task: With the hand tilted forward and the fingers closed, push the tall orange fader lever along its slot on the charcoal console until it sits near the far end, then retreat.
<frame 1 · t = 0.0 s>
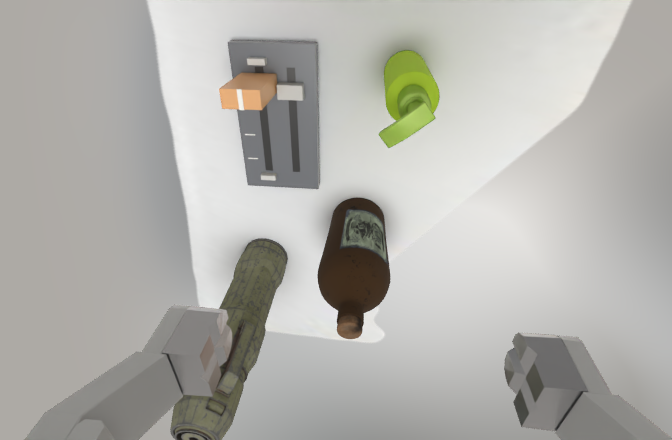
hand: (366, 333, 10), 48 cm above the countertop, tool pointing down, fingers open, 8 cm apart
thermos: (266, 254, 73), on the countertop
console: (280, 118, 57), on the countertop
soap dispenser: (401, 75, 52), on the countertop
olive oil: (358, 218, 66), on the countertop
fader lever: (250, 90, 48), point 7 cm above the countertop, slide at 0.0 cm
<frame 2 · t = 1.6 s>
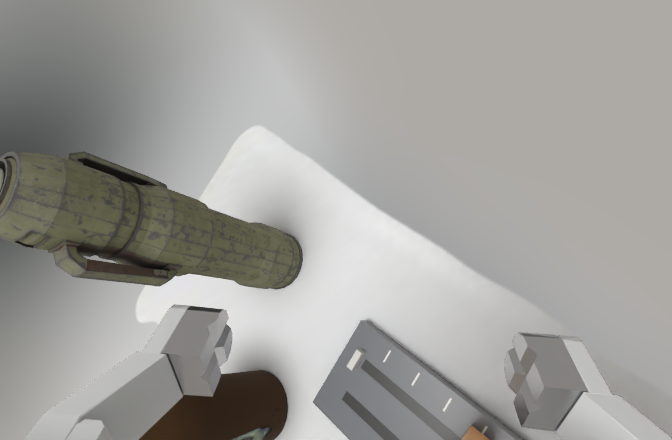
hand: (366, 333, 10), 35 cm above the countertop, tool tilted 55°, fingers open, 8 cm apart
thermos: (279, 261, 56), on the countertop
console: (415, 422, 42), on the countertop
olive oil: (261, 406, 52), on the countertop
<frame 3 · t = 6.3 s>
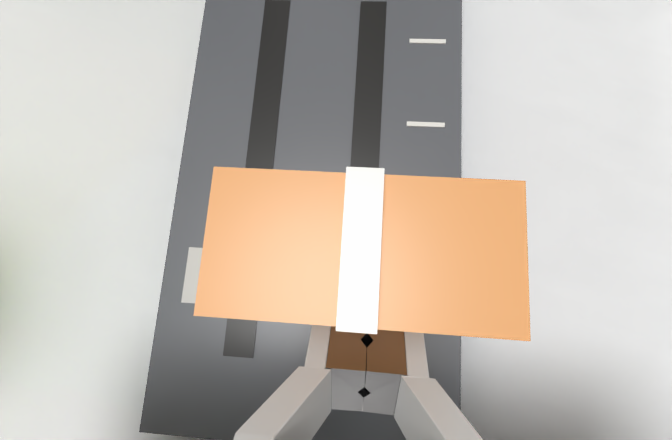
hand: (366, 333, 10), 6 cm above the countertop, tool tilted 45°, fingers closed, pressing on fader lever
console: (322, 178, 17), on the countertop
fader lever: (359, 266, 10), point 7 cm above the countertop, slide at 1.5 cm, touching gripper
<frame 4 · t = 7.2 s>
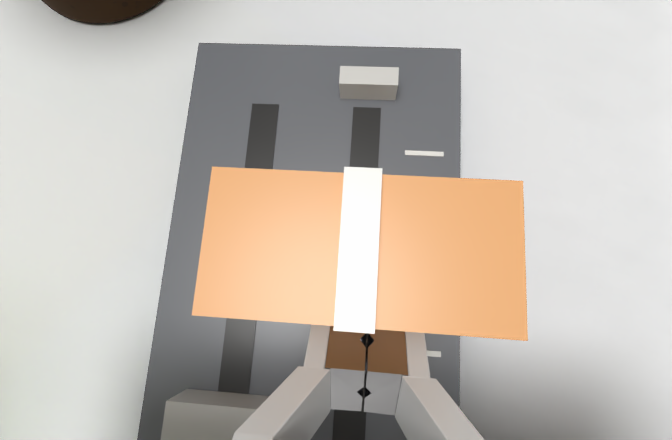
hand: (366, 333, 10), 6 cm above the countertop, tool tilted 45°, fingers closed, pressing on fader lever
console: (312, 290, 17), on the countertop
fader lever: (358, 266, 10), point 7 cm above the countertop, slide at 6.8 cm, touching gripper
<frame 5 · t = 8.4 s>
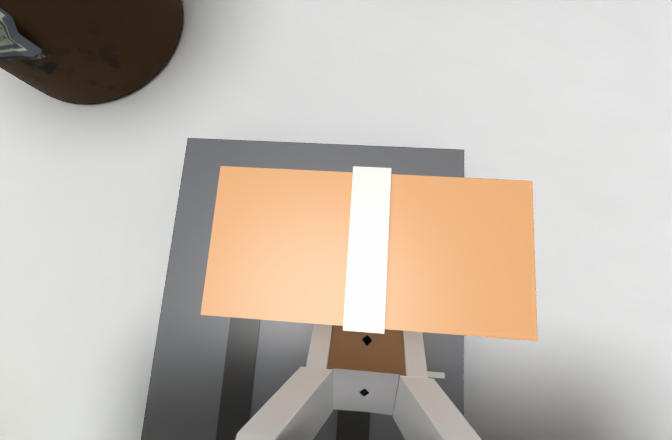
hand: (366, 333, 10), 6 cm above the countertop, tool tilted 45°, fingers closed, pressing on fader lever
console: (307, 403, 16), on the countertop
olive oil: (102, 30, 20), on the countertop
fader lever: (363, 266, 10), point 7 cm above the countertop, slide at 11.5 cm, touching gripper
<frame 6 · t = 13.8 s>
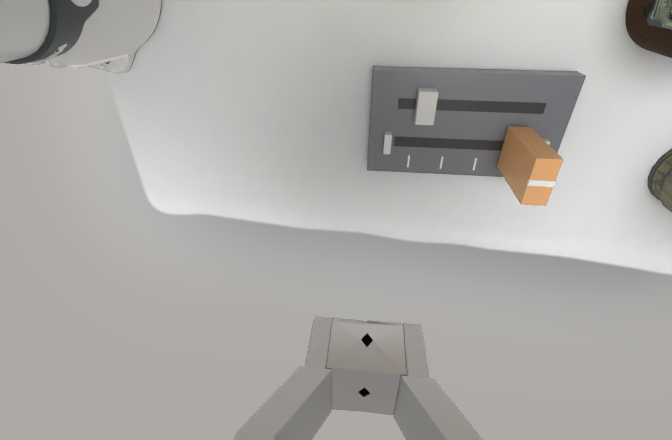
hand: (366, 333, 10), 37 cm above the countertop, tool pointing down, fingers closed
console: (462, 121, 44), on the countertop
fader lever: (526, 163, 39), point 7 cm above the countertop, slide at 11.7 cm
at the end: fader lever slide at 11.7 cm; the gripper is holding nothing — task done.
